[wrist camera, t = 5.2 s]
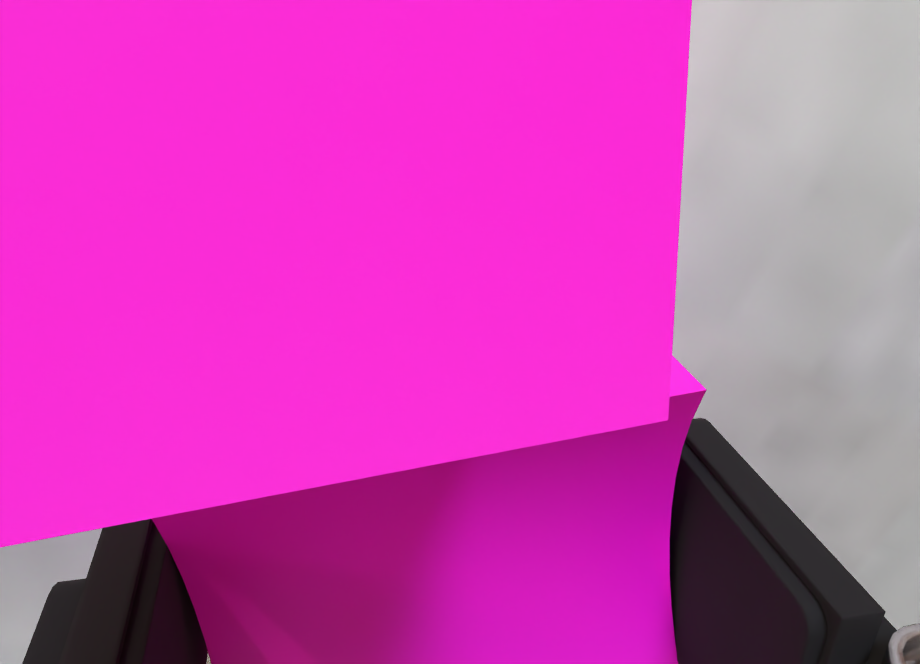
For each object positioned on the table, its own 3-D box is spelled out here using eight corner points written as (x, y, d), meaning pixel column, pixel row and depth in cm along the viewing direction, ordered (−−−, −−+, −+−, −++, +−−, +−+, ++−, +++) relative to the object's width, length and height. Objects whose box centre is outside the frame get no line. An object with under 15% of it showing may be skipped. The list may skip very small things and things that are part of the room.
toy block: (592, 714, 16) (801, 1225, 10) (304, 786, 15) (316, 1405, 9) (595, -62, 10) (1297, -130, 3) (78, -17, 9) (-620, 33, 2)
